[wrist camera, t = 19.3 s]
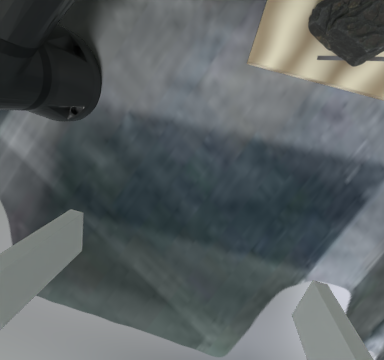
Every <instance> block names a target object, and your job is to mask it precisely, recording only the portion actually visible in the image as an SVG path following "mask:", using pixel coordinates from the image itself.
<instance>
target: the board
mask: <svg viewBox="0 0 384 360" xmlns="http://www.w3.org/2000/svg"><path fill="white" fill-rule="evenodd" d="M321 1H323V0H267V2H266V5H265V9H264V12H263V15H262V18H261V21H260V24H259V27H258V30H257V34H256V37H255V40H254V43H253V46H252V49H251V52H250V55H249V59H248V62H247V64H249V65H253V66H256V67H260V68H264V69H268V70H271V71H275V72H279V73H283V74H286V75H290V76H294V77H298V78H301V79H305V80H309V81H313V82H316V83H320V84H324V85H328V86H331V87H335V88H339V89H343V90H346V91H350V92H354V93H357V94H361V95H365V96H369V97H372V98H376V99H380V100H384V51H383V52H382V53H380V54H378V55H376V56H375V57H373V58H371V59H370V60H367V61H366V62H365V63H363V64H361V65H359V66H355V67H352V66H351V65H349V64H348V63H347V62H346V61H345V60H343V59H341V58H340V57H338V56H337V55H336V54H334V53H333V52H332V51H329V50H328V49H326V48H325V47H324V45H322V44H321V43H320V42H319V41H318V40H317V39H316V38H315V37H314V36H313V35H312V34H311V33H310V31H309V28H308V22H309V20H310V17H311V15H312V13H313V12H314V9H315V7H316V5H317V4H318V3H320V2H321Z"/></svg>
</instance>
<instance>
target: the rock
mask: <svg viewBox="0 0 384 360" xmlns="http://www.w3.org/2000/svg"><path fill="white" fill-rule="evenodd" d="M308 28H309V31H310V33H311V34H312V35H313V36H314V37H315V38H316V39H317V40H318V41H319V42H320V43H321V44H322V45H324V47H325V48H326V49H328V50H329V51H332V52H333V53H334V54H336V55H337V56H338V57H340V58H341V59H343V60H345V61H346V62H347V63H348V64H349V65H351V66H352V67H355V66H359V65H361V64H363V63H365V62H366V61H367V60H370V59H371V58H373V57H375V56H376V55H378V54H380V53H382V52H383V51H384V0H323V1H321V2H320V3H318V4H317V5H316V7H315V9H314V12H313V13H312V15H311V17H310V20H309V22H308Z"/></svg>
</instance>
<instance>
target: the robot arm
mask: <svg viewBox="0 0 384 360" xmlns="http://www.w3.org/2000/svg"><path fill="white" fill-rule="evenodd" d="M74 1H75V0H0V110H26V111H29V112H32V113H35V114H37V115H40V116H43V117H46V118H49V119H51V120H56V121H76V120H80V119H82V118H84V117H86V116H87V115H88V114H90V113H91V112H92V110H93V109H94V108H95V106H96V104H97V102H98V99H99V96H100V90H101V78H100V72H99V68H98V64H97V62H96V59H95V57H94V55H93V53H92V52H91V50H90V49H89V47H88V46H87V45H86V43H85V42H84V41H83V40H82V39H81V38H80V37H78V36H77V35H76V34H74V33H73V32H71V31H69V30H67V29H65V28H63V27H61V26H59V25H57V23H58V22H59V21H60V19H61V18H62V17H63V15H64V14H65V13H66V11H67V10H68V9H69V7H70V6H71V5H72V3H73V2H74ZM82 236H83V213H82V212H79V211H75V210H72V209H71V210H69V211H67V212H66V213H64V214H63V215H61V216H59V217H58V218H56V219H55V220H53V221H51V222H50V223H48V224H47V225H45V226H44V227H42V228H40V229H39V230H37V231H36V232H34V233H32V234H31V235H29V236H28V237H26V238H24V239H23V240H21V241H20V242H18V243H17V244H15V245H13V246H12V247H10V248H9V249H7V250H5V251H4V252H2V253H1V254H0V330H1V329H2V328H3V327H4V326H5V325H6V324H7V323H8V322H9V321H10V320H11V319H12V318H13V317H14V316H15V315H16V314H17V313H18V312H19V311H20V310H21V309H22V308H23V307H24V306H25V305H26V304H28V302H30V301H31V300H32V299H33V298H34V297H35V296H36V295H37V294H38V293H39V292H40V291H41V290H42V289H43V288H44V287H45V286H46V285H47V284H48V283H49V282H50V281H51V280H52V279H53V278H54V277H55V276H56V275H57V274H58V273H59V272H60V271H61V270H63V269H64V268H65V267H66V266H67V265H68V264H69V263H70V262H71V261H72V260H73V259H74V258H75V257H76V256H77V255H78V254H79V253H80V252H81V251H82ZM292 317H293V320H294V323H295V326H296V329H297V331H298V334H299V337H300V340H301V343H302V346H303V349H304V352H305V355H306V358H307V360H373V358H372V357H371V355H370V353H369V352H368V350H367V348H366V347H365V345H364V344H363V342H362V340H361V339H360V337H359V335H358V334H357V332H356V330H355V329H354V327H353V326H352V324H351V322H350V321H349V319H348V317H347V316H346V314H345V313H344V311H343V309H342V308H341V306H340V304H339V303H338V301H337V299H336V298H335V296H334V295H333V293H332V291H331V290H330V288H329V286H328V285H327V284H324V283H320V282H317V281H314V280H313V281H312V282H311V284H310V286H309V287H308V289H307V291H306V292H305V294H304V296H303V297H302V299H301V301H300V302H299V304H298V306H297V307H296V309H295V311H294V312H293V314H292Z"/></svg>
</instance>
